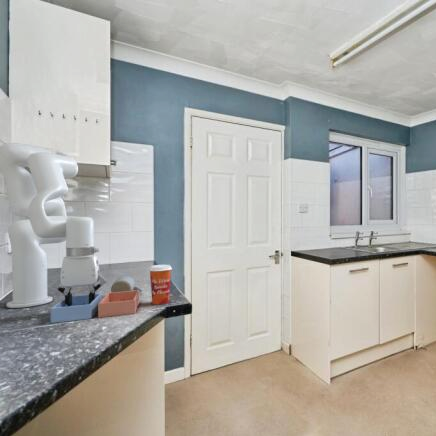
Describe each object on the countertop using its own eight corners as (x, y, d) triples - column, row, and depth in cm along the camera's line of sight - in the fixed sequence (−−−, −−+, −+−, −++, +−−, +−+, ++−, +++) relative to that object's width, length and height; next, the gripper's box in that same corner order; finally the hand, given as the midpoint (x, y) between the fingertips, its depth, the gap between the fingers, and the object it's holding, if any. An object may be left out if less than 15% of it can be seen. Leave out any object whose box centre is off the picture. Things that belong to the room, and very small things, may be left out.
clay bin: (107, 304, 116) (107, 292, 116) (139, 301, 120) (139, 289, 120) (98, 317, 101) (98, 303, 101) (135, 313, 106) (135, 300, 106)
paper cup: (148, 306, 114) (148, 268, 114) (149, 301, 121) (149, 265, 120) (172, 303, 117) (172, 266, 117) (172, 298, 124) (172, 263, 124)
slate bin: (66, 309, 110) (66, 296, 110) (101, 305, 115) (101, 293, 115) (50, 323, 96) (50, 308, 96) (91, 318, 100) (91, 304, 100)
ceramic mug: (109, 299, 123) (110, 279, 123) (114, 294, 131) (114, 276, 131) (140, 296, 128) (141, 278, 128) (143, 292, 135) (143, 274, 135)
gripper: (112, 250, 115) (112, 299, 115) (52, 252, 107) (52, 305, 107) (108, 252, 108) (108, 304, 108) (43, 255, 100) (44, 311, 100)
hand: (80, 304), depth 108 cm, fingers closed on slate bin, 5 cm apart
